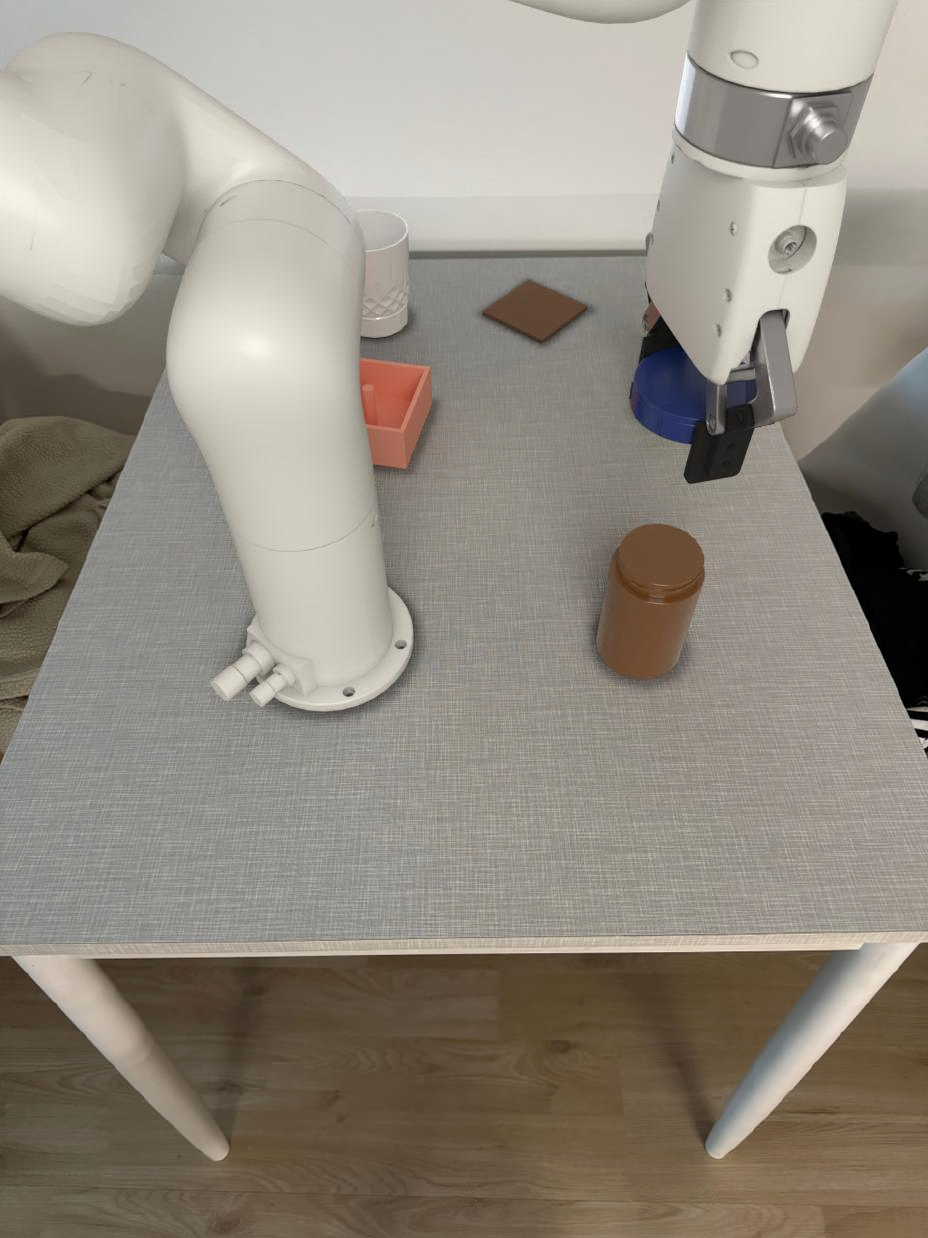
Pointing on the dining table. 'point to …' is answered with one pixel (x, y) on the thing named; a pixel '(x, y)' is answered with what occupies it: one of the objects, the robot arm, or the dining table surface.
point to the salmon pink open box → (394, 408)
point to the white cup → (384, 273)
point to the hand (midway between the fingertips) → (683, 430)
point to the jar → (649, 600)
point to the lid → (674, 395)
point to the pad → (535, 310)
